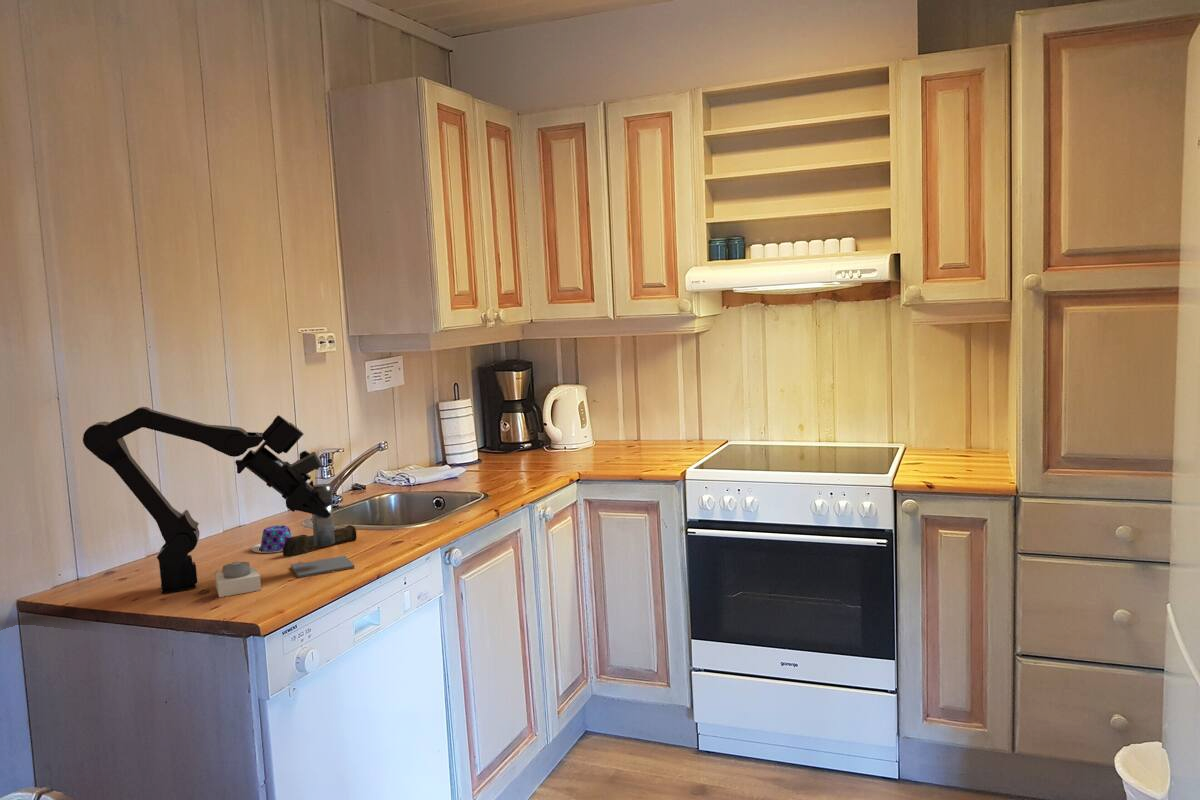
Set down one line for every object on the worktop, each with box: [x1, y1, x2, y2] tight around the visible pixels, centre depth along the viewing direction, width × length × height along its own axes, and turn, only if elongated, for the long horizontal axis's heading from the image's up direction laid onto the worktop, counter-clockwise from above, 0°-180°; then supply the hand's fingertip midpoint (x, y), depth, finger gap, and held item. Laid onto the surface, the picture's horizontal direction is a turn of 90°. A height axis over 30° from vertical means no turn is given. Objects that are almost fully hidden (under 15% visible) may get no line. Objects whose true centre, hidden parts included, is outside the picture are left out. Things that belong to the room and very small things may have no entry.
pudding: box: [251, 524, 293, 554], centre depth 220 cm, size 12×12×5 cm
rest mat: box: [290, 555, 355, 579], centre depth 199 cm, size 12×10×1 cm
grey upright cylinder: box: [311, 483, 335, 547], centre depth 198 cm, size 5×5×13 cm
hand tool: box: [282, 524, 357, 558], centre depth 217 cm, size 19×4×5 cm, turn 136°
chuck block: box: [214, 561, 262, 598], centre depth 186 cm, size 8×8×6 cm
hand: (328, 513), depth 199 cm, fingers closed on grey upright cylinder, 4 cm apart
